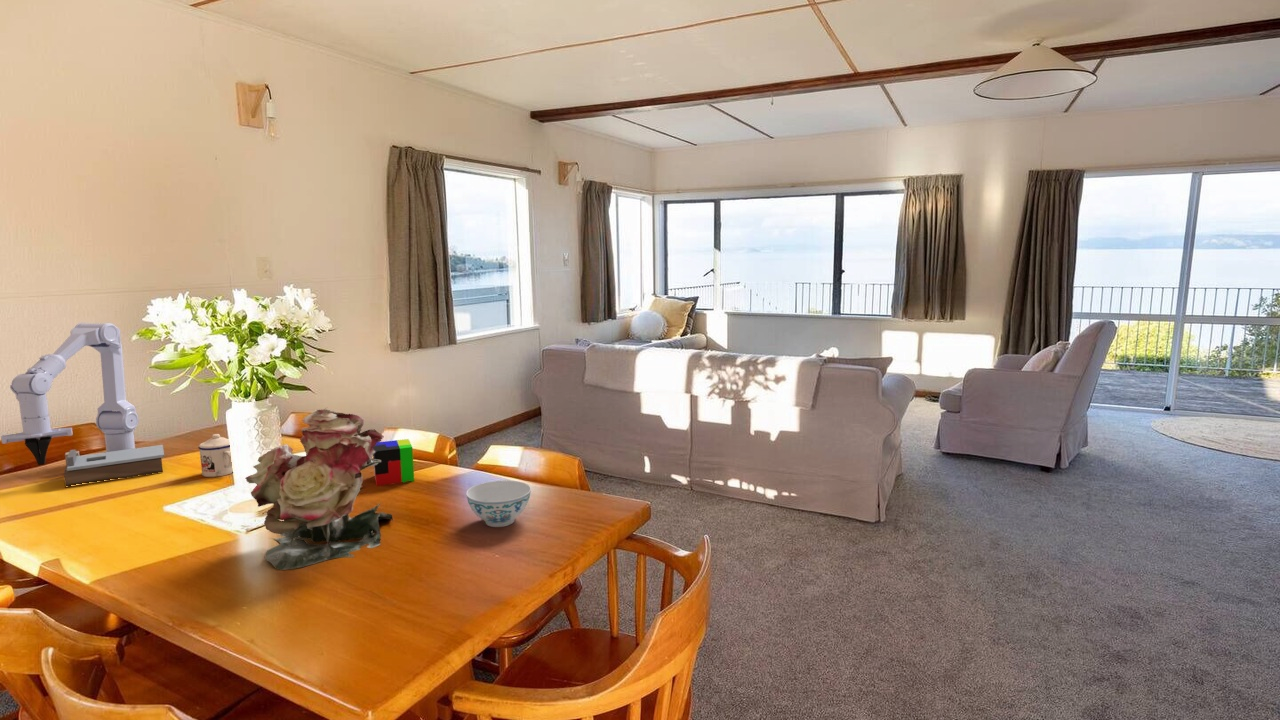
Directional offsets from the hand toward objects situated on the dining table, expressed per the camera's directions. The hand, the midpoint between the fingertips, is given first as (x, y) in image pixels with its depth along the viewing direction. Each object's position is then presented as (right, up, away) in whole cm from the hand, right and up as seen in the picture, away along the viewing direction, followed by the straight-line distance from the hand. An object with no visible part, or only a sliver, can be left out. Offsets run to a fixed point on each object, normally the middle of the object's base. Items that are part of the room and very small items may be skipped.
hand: (41, 464), depth 185 cm
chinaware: (+134, -10, -27) cm, 137 cm away
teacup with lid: (+43, -5, +11) cm, 45 cm away
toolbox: (+12, -5, +11) cm, 17 cm away
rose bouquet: (+98, -12, -39) cm, 106 cm away
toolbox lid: (+13, 0, +11) cm, 17 cm away
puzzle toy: (+96, -5, +6) cm, 97 cm away
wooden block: (-2, -5, +13) cm, 14 cm away
